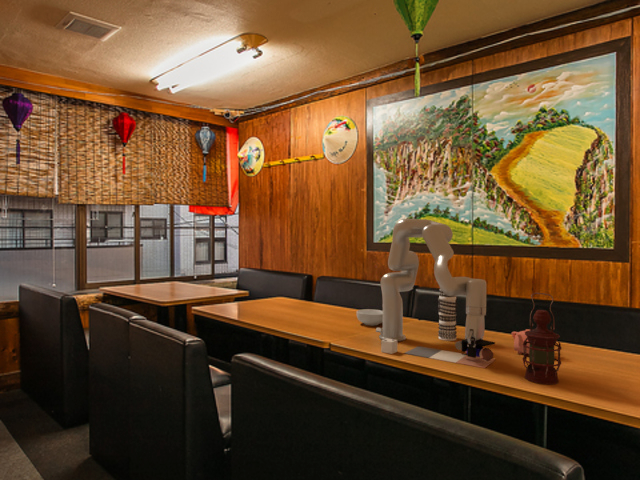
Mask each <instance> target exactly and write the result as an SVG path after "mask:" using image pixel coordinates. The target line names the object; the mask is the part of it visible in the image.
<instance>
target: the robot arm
mask: <svg viewBox="0 0 640 480" xmlns="http://www.w3.org/2000/svg"><path fill="white" fill-rule="evenodd" d="M453 234H454V232H453V230H452V228H451V227H450V225H447V224H444V223H441V222H437V221H434V220H430V219H425V218H423V219H421V218H420V219H419V218H402V219H401V220H398V221H397V222H396V223H395V224H394V226H393V229H392V241H391V246H390V250H389V253H388V259H387V266H388V269H389V270H391V271H393V272H388V273H385V274H384V275H383V276H382V277H381V278H380V288H381V295H382V311H383V323H382V327H376V329H375V333H380V334H379V339H380V340H384V339H387V338H388V339H394V340H397V342H401V341H405V340H406V338H407V337H406V335H405V334H403V332H404V331H403V325H404V324H403V323H404V318H403V317H404V316H403V315H404V313H403V311H404V310H403V309H404V305H403V298H402V296H401V294H400V292H401V293H402V292H409V291H411V290H412V289H413V288H414V286H415V283H416V278H417V274H418V270H419V266H420V265H419V264H420V259H419V257H418V256H419V255H418V254H417V253H416V252H415V251H412V250H410V247H411V242H410V238H422V239H423V241H424V242H425V244H426V246H427V248H428V250H429V252H430V254H431V256H432V257H433V260H434V265H433V271H434V278H435V280H436V283H437V285H438V286H439V289H441V290H442V291H443V292H444V293H445V294H446V295H447V296H456V297H458V296H465V314H466V319H465V329H464V339H467V343H468V345H467V346H468V357H473V358H476V349H483V348H484V346H481V345H476V341H477V340H479V339H481V340H484V337H485V327H486V326H485V316H487V282H486V280H485V279H482V278H471V277H468V276H455V277H454V276H452V274H451V272H450V270H449V267H448V261H449V260H450V259H452V258H453V256H454V253H455V252H454V249H453V248H452V246H451V245H450V242H451V240H452V239H453ZM472 338H475V339H472ZM473 341H474V344H473Z"/></svg>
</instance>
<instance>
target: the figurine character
mask: <svg viewBox="0 0 640 480" xmlns="http://www.w3.org/2000/svg"><path fill="white" fill-rule="evenodd" d="M472 339H475V338H472ZM473 344H474V341H473ZM467 345H468V343H467V339H465V338H464V339H461V340H459V341H456V342H455V344H454V346H455V348H456V350H458V351H461V353H462V355H467V354H468V346H467ZM476 345H481V346H483V349H476V356H477V357H480V358H481V359H482V360H484V361H489V360H491V359H494V358H493V357H494V352H493V350H492V349H491V348H489V347H490V346H492V345H496V341H490V340H485V339H483V340H481V339H479V340H477V341H476ZM488 346H489V347H488Z"/></svg>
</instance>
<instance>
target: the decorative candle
mask: <svg viewBox="0 0 640 480" xmlns="http://www.w3.org/2000/svg"><path fill="white" fill-rule="evenodd" d="M458 300H459V299H458V298H457V296H447V295H446V294H445V293H444V292H443V291H442V290H441V288H439V297H438V298H437V304H438V305H437V308H438V309H437V310H438V315H439V319H438V324H437V325H438V327H437V329H439V330H438V331H437V332H438V334H437V336H438V338H437V339H439V340H441V341H448V342H449V341H456V340H457V332H458V331H456V330H457V320H456V319H457V318H456V316H457V314H458V313H457V312H458V310H457V309H456V308H458V302H456V301H458Z"/></svg>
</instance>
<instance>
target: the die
mask: <svg viewBox="0 0 640 480" xmlns="http://www.w3.org/2000/svg"><path fill="white" fill-rule="evenodd" d="M380 341H381V344H380V345H381V347H380V348H381V349H380V352H381V353H385V354H389V355H393V354H394V353H397V352H398V341H397V340H394V339H388V338H387V339H384V340H382V339H380Z"/></svg>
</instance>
